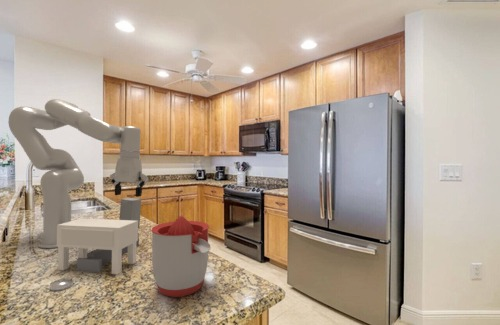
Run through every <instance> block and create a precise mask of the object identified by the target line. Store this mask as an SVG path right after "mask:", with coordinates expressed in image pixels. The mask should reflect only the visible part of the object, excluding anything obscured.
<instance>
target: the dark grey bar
mask: <svg viewBox="0 0 500 325" xmlns="http://www.w3.org/2000/svg"><path fill="white" fill-rule="evenodd" d="M139 233H140V232H138V241H136V248H137V247H139V246H140V242H139V241H140V234H139ZM126 253H127V254H128V246H127V247H125V248H123V249H122V256H124V255H125V254H126ZM110 262H111V263H112V250H104V249H93V250H92V251H89V252H88V253H87V258H78V257H77V258H76V272H82V273H95V274H96V273H101V272H102V271H103V270H102V268H103V266H106V265H107V264H108V263H110Z"/></svg>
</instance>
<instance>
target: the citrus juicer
mask: <svg viewBox="0 0 500 325" xmlns="http://www.w3.org/2000/svg"><path fill="white" fill-rule="evenodd" d="M209 229H210V225H209V224H208V223H206V222H203V221H199V220H198V221H197V220H187V218H186V217H184V216H183V215H181V216H178V217H177V218H176V219H175V220H174V221H169V222H163V223H160V224H157V225H154V226H153V227H152V228H151V234H152V238H151V239H152V240H151V241H152V244H151V245H152V247H151V250H152V251H151V253H152V254H151V255H152V256H151V262H152V263H151V264H152V272H153V277H154V280H155V285H156V288H157V289H158V292H159V293H160V294H162V296H163V295H164V296H166V297H172V298H173V297H174V298H181V297H184V296H189V295H191V294H194V293H196V292H197V291H199V290H200V289H201V287H202V285H203V283H204V280H205V276H206V273H207V268H208V263H209V262H208V260H209V251H210V250H211V244H210V243H209Z"/></svg>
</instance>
